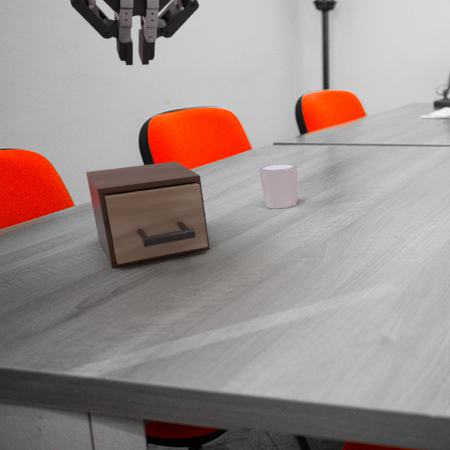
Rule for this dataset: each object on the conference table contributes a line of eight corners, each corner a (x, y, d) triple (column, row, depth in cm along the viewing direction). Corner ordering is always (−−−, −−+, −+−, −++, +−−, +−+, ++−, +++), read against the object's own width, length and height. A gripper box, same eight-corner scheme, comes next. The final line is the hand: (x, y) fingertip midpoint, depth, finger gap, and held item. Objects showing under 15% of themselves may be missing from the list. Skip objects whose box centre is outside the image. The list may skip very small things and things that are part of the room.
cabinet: (209, 249, 81) (200, 175, 78) (112, 268, 74) (97, 188, 71) (185, 226, 93) (176, 161, 90) (99, 241, 86) (85, 171, 83)
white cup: (308, 203, 105) (305, 165, 103) (278, 211, 100) (274, 172, 98) (284, 198, 109) (280, 162, 107) (254, 206, 104) (250, 168, 102)
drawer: (220, 258, 74) (212, 192, 71) (125, 278, 68) (112, 207, 65) (184, 225, 90) (176, 170, 87) (104, 239, 84) (93, 180, 81)
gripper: (197, -92, 59) (185, 37, 73) (47, -108, 53) (64, 38, 66) (218, -45, 57) (202, 80, 70) (62, -55, 50) (77, 86, 63)
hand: (135, 59), depth 68 cm, fingers closed
